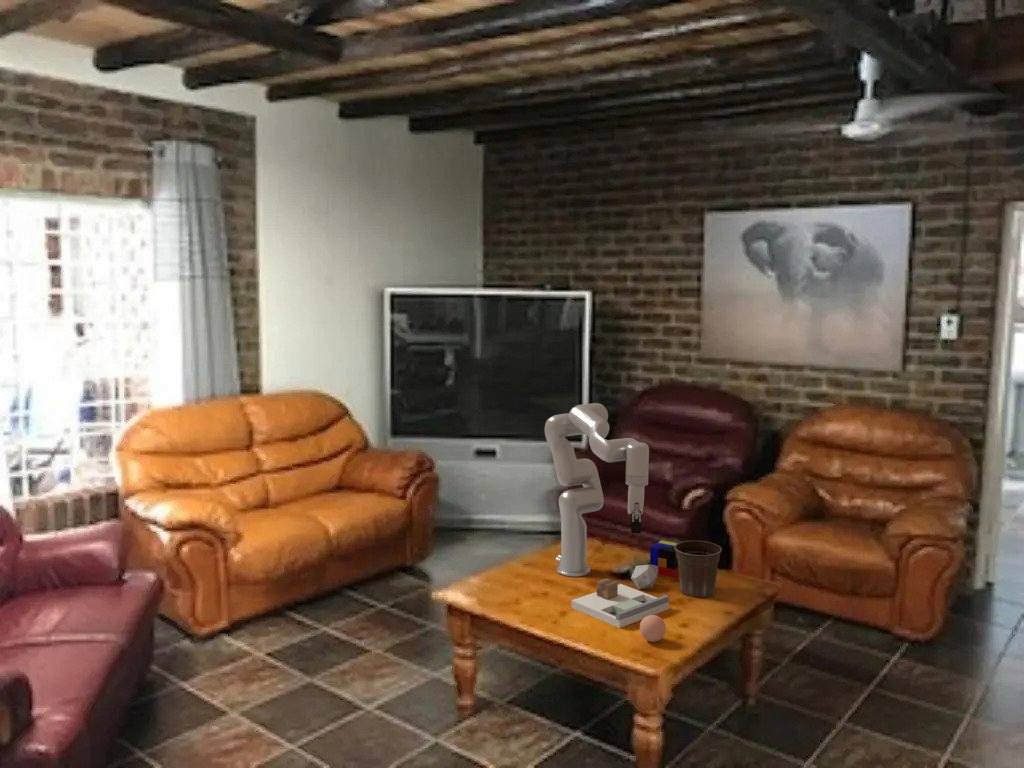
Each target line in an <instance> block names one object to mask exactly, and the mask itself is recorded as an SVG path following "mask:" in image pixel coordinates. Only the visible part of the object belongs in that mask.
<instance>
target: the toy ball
mask: <svg viewBox="0 0 1024 768" xmlns="http://www.w3.org/2000/svg"><path fill="white" fill-rule="evenodd" d="M639 632H640V634H641V636H642V638H644V639H645V640H646V641H648V642H651V643H656V642H659V641H660V640H662V639H663V638H664V637H665V636H666V632H667V625H666V622H665V621H664V619H663V618H661V617H660V616H659V615H657V614H655V615H649V616H646V617H645V618H644V619H642V620H640V623H639Z"/></svg>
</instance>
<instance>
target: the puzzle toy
mask: <svg viewBox="0 0 1024 768" xmlns="http://www.w3.org/2000/svg"><path fill="white" fill-rule="evenodd" d="M676 544H677V543H676V542H672V541H667V540H660V541H659V542H657V543H655V544H653V545H651V546H649V547H650V549H649V551H650V552H649V565H650V566H651V568H652V569H653V570H654V572H655V573H656V574H657V576H658V575H659V576H662V577H663V576H664V577H668V578H672V579H675V578H677V577H679V570H678V560H677V557H676V550H675V548H674V546H675V545H676Z"/></svg>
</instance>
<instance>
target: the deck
mask: <svg viewBox="0 0 1024 768" xmlns="http://www.w3.org/2000/svg"><path fill="white" fill-rule="evenodd" d="M570 602H571V606H570V607H571V609H573V610H576V611H579V612H581V613H583V614H586V615H588V616H591V617H593V618H595V619H597V620H599V621H602V622H604V623H607V624H609V625H611V626H614V627H615V628H618V629H620V628H623V627H625V626H628V625H630V624H631V625H632V624H634V623H636V622H639V621H642V620H643V619H644V618H645V617H646V616H649V615H658V614H661V613H662V612H664V611H668V610H669V609H670V596H669V595H667V594H664V595H661V596H659V597H656V596H654V595H651V594H649V593H646V592H644V591H641V590H639V589H635V588H633V587H630V586H627V585H625V584H622V583H618V596H617V597H614V598H612V599H609V600H606V599H604V598H601V597H599V596H597V591H596V592H592V593H589V594H586V595H583V596H581V597H578V598H575V599H571V601H570Z"/></svg>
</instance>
